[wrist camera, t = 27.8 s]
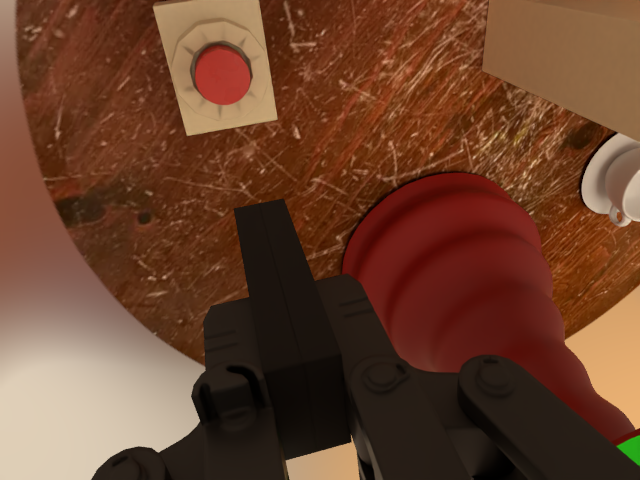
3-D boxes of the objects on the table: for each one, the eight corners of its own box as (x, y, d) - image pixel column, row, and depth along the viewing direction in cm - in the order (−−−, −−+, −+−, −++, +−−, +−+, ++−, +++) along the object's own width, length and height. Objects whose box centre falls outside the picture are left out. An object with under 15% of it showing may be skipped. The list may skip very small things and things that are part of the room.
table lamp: (339, 343, 55) (662, 1190, 18) (340, 182, 45) (1124, 1424, 7) (499, 314, 59) (1044, 968, 22) (534, 159, 48) (1716, 913, 11)
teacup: (613, 113, 48) (651, 129, 44) (683, 134, 51) (724, 150, 47) (561, 204, 52) (591, 226, 48) (629, 218, 55) (662, 239, 52)
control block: (154, 2, 34) (150, 9, 31) (253, -12, 35) (260, -7, 32) (186, 126, 39) (187, 144, 36) (273, 111, 40) (281, 127, 37)
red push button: (188, 49, 33) (189, 54, 31) (242, 40, 33) (244, 45, 32) (201, 102, 35) (202, 109, 33) (251, 93, 35) (254, 100, 34)
